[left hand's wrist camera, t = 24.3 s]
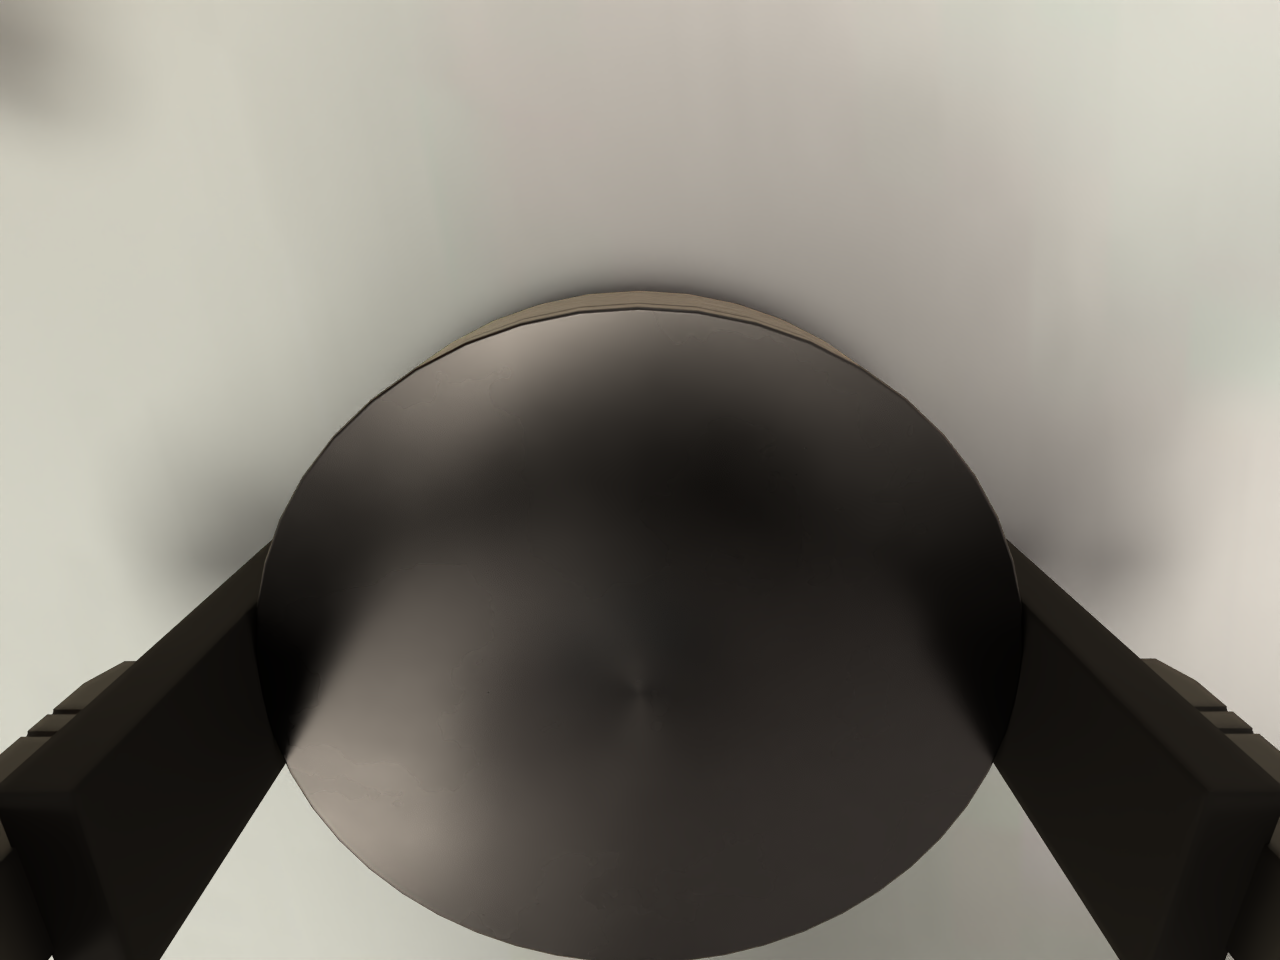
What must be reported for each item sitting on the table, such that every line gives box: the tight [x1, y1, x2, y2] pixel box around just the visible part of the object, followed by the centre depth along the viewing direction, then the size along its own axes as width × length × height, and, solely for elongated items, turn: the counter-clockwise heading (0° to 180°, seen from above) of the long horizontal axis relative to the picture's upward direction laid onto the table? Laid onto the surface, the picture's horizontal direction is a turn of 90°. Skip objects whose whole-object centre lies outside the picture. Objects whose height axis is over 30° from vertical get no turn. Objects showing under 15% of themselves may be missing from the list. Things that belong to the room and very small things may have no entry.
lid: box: [256, 291, 1023, 960], centre depth 11 cm, size 11×11×2 cm
